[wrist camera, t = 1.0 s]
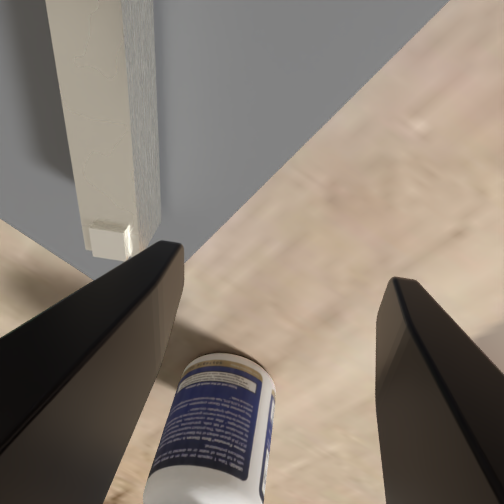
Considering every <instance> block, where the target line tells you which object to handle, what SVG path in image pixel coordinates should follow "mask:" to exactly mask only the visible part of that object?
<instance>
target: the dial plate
mask: <svg viewBox="0 0 504 504" xmlns="http://www.w3.org/2000/svg"><path fill="white" fill-rule="evenodd" d="M449 1H450V0H153V7H154V34H155V60H156V87H157V114H158V141H159V168H160V194H161V223H160V225H159V226H158V228H157V230H156V232H155V233H154V235H153V237H152V239H151V240H150V242H149V244H148V246H147V247H146V248H148V247H149V246H151V245H153V244H154V243H156V242H158V241H160V240H165V241H171V242H178V243H181V244H182V245H183V247H184V263H185V262H186V261H187V260H188V259H189V258H190V257H191V256H192V255H193V254H194V253H195V252H196V251H197V250H198V249H199V248H200V247H201V246H202V245H203V244H204V243H205V242H206V241H207V240H208V239H209V238H210V237H211V236H212V235H213V234H214V233H215V232H216V231H217V230H218V229H219V228H220V227H222V226H223V225H224V224H225V223H226V222H227V221H228V220H229V219H230V218H231V217H232V216H233V215H234V214H235V213H236V212H237V211H238V210H239V209H240V208H241V207H242V206H243V205H244V204H245V203H246V202H247V201H248V200H249V199H250V198H251V197H252V196H253V195H254V194H255V193H256V192H257V191H258V190H259V189H260V188H261V187H262V186H263V185H264V184H265V183H266V182H267V181H268V180H269V179H270V178H271V177H272V176H273V175H274V174H275V173H276V172H277V171H278V170H279V169H280V168H281V167H282V166H283V165H284V164H285V163H286V162H287V161H288V160H289V159H290V158H291V157H292V156H293V155H294V154H295V153H296V152H297V151H298V150H299V149H300V148H301V147H302V146H303V145H304V144H305V143H306V142H307V141H308V140H309V139H310V138H311V137H312V136H313V135H314V134H315V133H316V132H317V131H318V130H319V129H320V128H321V127H322V126H323V125H324V124H325V123H326V122H327V121H328V120H330V119H331V118H332V117H333V116H334V115H335V114H336V113H337V112H338V111H339V110H340V109H341V108H342V107H343V106H344V105H345V104H346V103H347V102H348V101H349V100H350V99H351V98H352V97H353V96H354V95H355V94H356V93H357V92H358V91H359V90H360V89H361V88H362V87H363V86H364V85H365V84H366V83H367V82H368V81H369V80H370V79H371V78H372V77H373V76H374V75H375V74H376V73H377V72H378V71H379V70H380V69H381V68H382V67H383V66H384V65H385V64H386V63H387V62H388V61H389V60H390V59H391V58H392V57H393V56H394V55H395V54H396V53H397V52H398V51H399V50H400V49H401V48H402V47H403V46H404V45H405V44H406V43H407V42H408V41H409V40H410V39H411V38H412V37H413V36H414V35H415V34H416V33H417V32H418V31H419V30H420V29H421V28H422V27H423V26H424V25H425V24H426V23H427V22H428V21H429V20H430V19H431V18H432V17H433V16H434V15H435V14H437V13H438V12H439V11H440V10H441V9H442V8H443V7H444V6H445V5H446V4H447V3H448V2H449ZM0 219H2V220H3V221H5V222H6V223H8V224H9V225H11V226H12V227H14V228H15V229H17V230H18V231H20V232H21V233H23V234H24V235H26V236H27V237H29V238H30V239H32V240H34V241H35V242H37V243H38V244H40V245H41V246H43V247H44V248H46V249H47V250H49V251H50V252H52V253H53V254H55V255H56V256H58V257H59V258H61V259H62V260H64V261H65V262H67V263H68V264H70V265H71V266H73V267H75V268H76V269H78V270H79V271H81V272H82V273H84V274H85V275H87V276H88V277H90V278H91V279H93V280H96V279H97V278H99V277H100V276H102V275H104V274H105V273H107V272H109V271H110V270H112V269H113V268H115V267H117V266H118V265H120V264H122V263H123V262H125V261H118V260H112V259H106V258H99V257H93V254H92V251H90V250H86V249H85V243H84V237H83V231H82V224H81V218H80V212H79V206H78V200H77V193H76V187H75V181H74V175H73V169H72V163H71V156H70V150H69V144H68V138H67V132H66V125H65V119H64V113H63V107H62V101H61V95H60V88H59V82H58V76H57V70H56V64H55V57H54V51H53V45H52V39H51V33H50V26H49V20H48V14H47V8H46V2H45V0H0ZM130 258H131V257H129V258H128V259H130Z"/></svg>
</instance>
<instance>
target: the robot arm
mask: <svg viewBox="0 0 504 504" xmlns="http://www.w3.org/2000/svg"><path fill="white" fill-rule="evenodd" d="M183 286H184V247H183V245H182V244H181V243H178V242H171V241H165V240H160V241H158V242H156V243H154V244H153V245H151V246H149V247H148V248H146V249H144V250H143V251H141V252H140V253H138V254H136V255H135V256H133V257H131V258H130V259H128V260H127V261H125V262H123V263H122V264H120V265H118V266H117V267H115V268H113V269H112V270H110V271H109V272H107V273H105V274H104V275H102V276H100V277H99V278H97V279H96V280H94V281H92V282H91V283H89V284H87V285H86V286H84V287H82V288H81V289H79V290H78V291H76V292H74V293H73V294H71V295H69V296H68V297H66V298H65V299H63V300H61V301H60V302H58V303H56V304H55V305H53V306H52V307H50V308H48V309H47V310H45V311H43V312H42V313H40V314H38V315H37V316H35V317H34V318H32V319H30V320H29V321H27V322H25V323H24V324H22V325H21V326H19V327H17V328H16V329H14V330H12V331H11V332H9V333H8V334H6V335H4V336H3V337H1V338H0V504H103V502H104V499H105V497H106V495H107V492H108V490H109V488H110V485H111V483H112V481H113V478H114V476H115V473H116V471H117V469H118V466H119V464H120V462H121V459H122V457H123V455H124V452H125V450H126V448H127V445H128V443H129V441H130V438H131V436H132V433H133V431H134V429H135V426H136V424H137V422H138V419H139V417H140V415H141V412H142V410H143V408H144V405H145V403H146V401H147V398H148V396H149V393H150V391H151V389H152V386H153V384H154V382H155V379H156V377H157V374H158V372H159V369H160V367H161V364H162V361H163V357H164V354H165V351H166V348H167V344H168V341H169V337H170V334H171V330H172V327H173V323H174V320H175V316H176V312H177V309H178V305H179V302H180V298H181V295H182V291H183ZM375 402H376V415H377V424H378V433H379V442H380V451H381V460H382V469H383V478H384V487H385V496H386V504H504V374H503V373H502V372H501V371H500V370H499V369H498V368H497V366H496V365H495V364H494V363H493V362H492V361H491V360H490V359H489V358H488V357H487V356H486V355H485V354H484V352H483V351H482V350H481V349H480V348H479V347H478V346H477V345H476V344H475V343H474V342H473V341H472V339H471V338H470V337H469V336H468V335H467V334H466V333H465V332H464V331H463V330H462V329H461V328H460V327H459V325H458V324H457V323H456V322H455V321H454V320H453V319H452V318H451V317H450V316H449V315H448V314H447V313H446V311H445V310H444V309H443V308H442V307H441V306H440V305H439V304H438V303H437V302H436V301H435V300H434V299H433V297H432V296H431V295H430V294H429V293H428V292H427V291H426V290H425V289H424V288H423V287H422V286H421V284H420V283H419V282H417V281H416V280H414V279H407V278H401V277H392V278H391V279H390V280H389V282H388V285H387V288H386V291H385V293H384V296H383V299H382V302H381V305H380V308H379V311H378V315H377V322H376V381H375Z"/></svg>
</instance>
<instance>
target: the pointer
mask: <svg viewBox="0 0 504 504" xmlns="http://www.w3.org/2000/svg"><path fill="white" fill-rule="evenodd" d="M45 2H46V8H47V14H48V20H49V26H50V33H51V39H52V45H53V51H54V57H55V64H56V70H57V76H58V82H59V88H60V95H61V101H62V107H63V113H64V119H65V125H66V132H67V138H68V144H69V150H70V156H71V163H72V169H73V175H74V181H75V187H76V193H77V200H78V206H79V212H80V218H81V224H82V231H83V237H84V243H85V249H86V250H90V251H92V254H93V257H99V258H106V259H112V260H118V261H127V260H128V258H129V257H133V256H135V255H136V254H138V253H140V252H141V251H143V250H144V249H146V247H147V246H148V244H149V242H150V240H151V239H152V237H153V235H154V233H155V232H156V230H157V228H158V226H159V225H160V223H161V194H160V168H159V141H158V114H157V87H156V60H155V34H154V7H153V0H45Z"/></svg>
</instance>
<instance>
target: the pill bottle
mask: <svg viewBox="0 0 504 504" xmlns="http://www.w3.org/2000/svg"><path fill="white" fill-rule="evenodd" d="M275 398H276V390H275V385H274V382H273V380H272V378H271V377H270V375H269V374H268V373H267V372H266V371H265V370H264V369H263V368H262V367H261V366H259V365H258V364H256V363H255V362H253V361H251V360H249V359H247V358H244V357H241V356H238V355H234V354H228V353H213V354H208V355H204V356H201V357H199V358H197V359H195V360H193V361H192V362H191V363H190V364H189V365H188V366H187V367H186V368H185V370H184V372H183V374H182V376H181V379H180V382H179V385H178V388H177V391H176V394H175V397H174V400H173V403H172V406H171V409H170V412H169V416H168V418H167V421H166V424H165V427H164V431H163V434H162V437H161V440H160V443H159V446H158V449H157V452H156V455H155V458H154V461H153V464H152V467H151V470H150V473H149V476H148V479H147V482H146V486H145V489H144V493H143V504H263V503H264V493H265V485H266V476H267V468H268V460H269V452H270V443H271V434H272V426H273V418H274V409H275Z"/></svg>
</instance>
